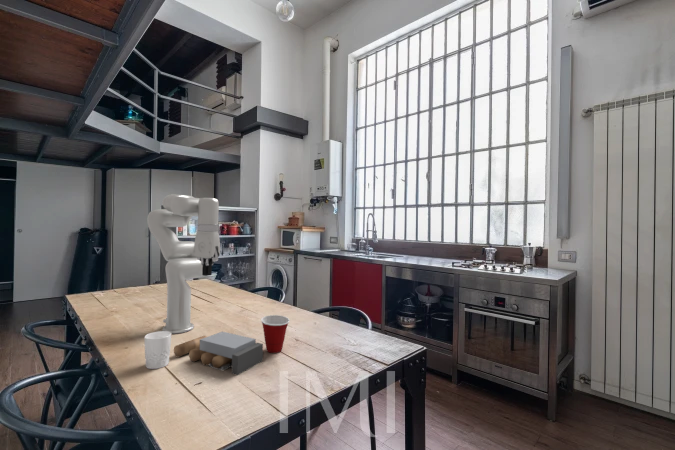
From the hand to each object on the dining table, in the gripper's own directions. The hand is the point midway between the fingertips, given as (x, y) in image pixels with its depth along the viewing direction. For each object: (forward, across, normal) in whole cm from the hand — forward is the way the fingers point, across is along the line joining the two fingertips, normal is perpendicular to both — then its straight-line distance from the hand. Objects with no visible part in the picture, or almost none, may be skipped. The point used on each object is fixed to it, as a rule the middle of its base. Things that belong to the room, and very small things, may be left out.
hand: (207, 275), depth 127 cm
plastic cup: (+27, +28, +8) cm, 40 cm away
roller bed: (+27, +9, -8) cm, 30 cm away
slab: (+23, +20, -8) cm, 32 cm away
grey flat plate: (+27, +21, -8) cm, 35 cm away
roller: (+25, +20, -8) cm, 32 cm away
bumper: (+27, +29, -8) cm, 41 cm away
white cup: (+27, +2, -21) cm, 35 cm away
